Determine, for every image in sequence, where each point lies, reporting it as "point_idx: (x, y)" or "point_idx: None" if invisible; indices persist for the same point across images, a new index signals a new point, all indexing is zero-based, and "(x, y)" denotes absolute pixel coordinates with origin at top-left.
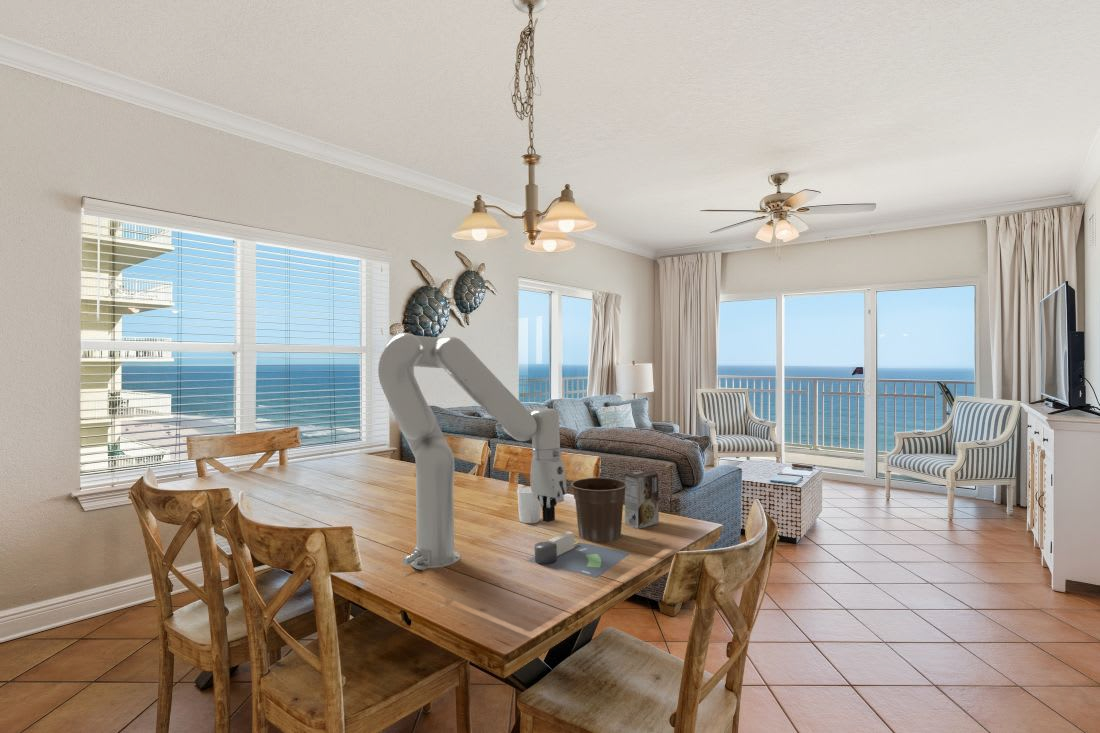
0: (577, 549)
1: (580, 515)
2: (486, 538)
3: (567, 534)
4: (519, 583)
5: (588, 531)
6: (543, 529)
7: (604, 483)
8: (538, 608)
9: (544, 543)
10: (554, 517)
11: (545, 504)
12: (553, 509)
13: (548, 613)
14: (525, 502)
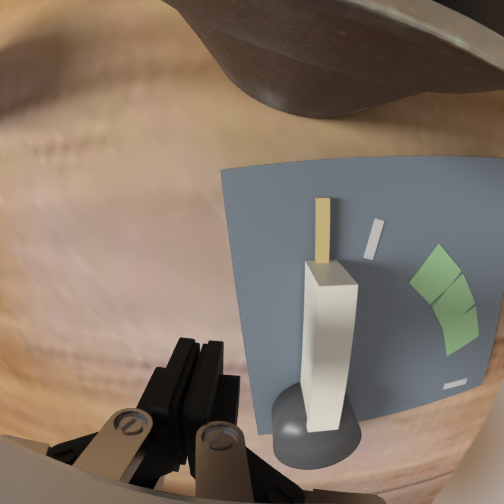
0: (350, 250)
1: (283, 82)
2: (3, 327)
3: (345, 330)
4: (320, 484)
5: (337, 111)
6: (42, 114)
7: None
8: (405, 495)
9: (301, 437)
10: (220, 350)
11: (170, 472)
12: (234, 424)
13: (425, 491)
14: None
